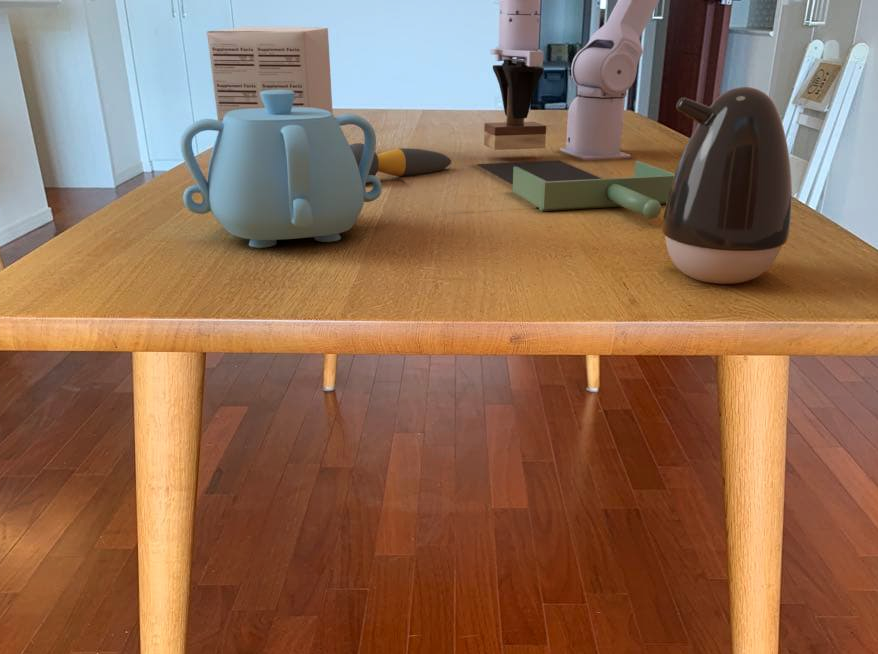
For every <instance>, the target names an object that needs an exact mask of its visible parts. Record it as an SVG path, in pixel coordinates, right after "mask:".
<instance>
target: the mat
mask: <svg viewBox="0 0 878 654" xmlns="http://www.w3.org/2000/svg"><path fill="white" fill-rule="evenodd" d="M476 166H478V167H480V168H481V169H484V170H485V171H487V172H489V173H491V174H492V175H494V176H496V177H497V178H499V179H501V180H503V181H505V182H506V183H509V184H510V185H512V186H513V167H516V166H517V167H519V168H521V169H523V170H525V171H527V172H529V173H531V174H533V175H535V176H537V177H539V178H541V179H543V180H545V181H547V182H549V181H569V180H588V179H602V178H601V177H599V176H597V175H594V174H592V173H589V172H587V171H585V170H583V169H580V168H577V167H575V166H573V165H571V164H568V163H566V162H564V161H561V160H538V161H516V162H495V163H493V162H492V163H476Z"/></svg>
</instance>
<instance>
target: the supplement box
mask: <svg viewBox="0 0 878 654" xmlns="http://www.w3.org/2000/svg"><path fill="white" fill-rule="evenodd" d="M206 36H207V44H208V53H209V61H210V69H211V76H212V87H213V93H214V101H215V103H214V104H215V110H216V120H218V121H220V122H222V121H223V119H224V116H225V115H226V113H227V112H229V111H233V110H239V109H253V108H265V106H264V104H263V101H262V99H261V96H260V92H262V91H266V90H291V91H293V92H295V97H294V101H293V105H292V107H308V108H318V109H323V110H327V111H330V112H331V113H332V114H333V115H334V113H333V111H334V110H333V97H332V95H333V94H332V78H331V61H330V60H331V59H330V44H329V28H328V27H321V26H320V27H317V26H313V27H312V26H240V27H233V28H224V29H217V30H216V29H215V30H207V31H206Z"/></svg>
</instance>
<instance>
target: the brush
mask: <svg viewBox="0 0 878 654" xmlns="http://www.w3.org/2000/svg"><path fill="white" fill-rule="evenodd" d="M483 125H484V127H483V129H484V132H483V145H484V146H486V147H488V148H489V149H492V150H494V151H503V150H504V151H507V150H530V149H531V150H533V149H546V143H547V142H546V141H547V139H546V138H547V125H546V124H543V123H539V122H536V121H525V118H516V119H514V118H512V114H511V106H510V93H509V87H508V93H507V116H506V121H505V122H504V121H503V122H484V124H483Z"/></svg>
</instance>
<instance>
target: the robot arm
mask: <svg viewBox="0 0 878 654" xmlns="http://www.w3.org/2000/svg"><path fill="white" fill-rule="evenodd" d="M541 3H542V2H541V0H499V8H498V9H499V11H498V14H499V17H498V46H496V47H495V48H490V55H495V61H496V62H503V63H501V64H493V65H492V71H493V72H494V75H495V77H496V80H497V82H498V85H499V90H500V95H501V100H502V106H503V111H504V115H505V116H506V117H507V93H508V87H509V93H510V106H511V114H512V118H514V119H516V118H524V119H527V118H528V116H529V113H530V110H531V109H530V108H531V104H532V101H533V96H534V93H535V91H536V88H537V86H538V83H539V81H540V79H541V77H542V76H543V74H544V71H545V67H543V66H544V50H540V49H539V42H540V23H541V22H540V21H541ZM659 3H660V0H617V1H616V4H615V6H614V7H613V9H612V11H611V13H610V15H609V17H608V19H607V21H606V22H605V23H604V24H603V25H602V26H601V27H600V28H598V29H597V30H596V31H594V33H592V35H591V37H590V38H589V40H588V42H587V44H586V45H584V47H582V48H581V49H579V50H578V51H577V53H576V54H575V55H574V57H573V59H572V62H571V65H570V66H571V68H570V71H571V72H570V74H571V78H572V80H573V82H574V84H575V85H576V86H577V91H576V94H577V96H576V97H575V98H574V99H573V100H572V101H571V103H570V105H569V107H568V111H567V123H566V125H567V126H566V139H565V140H566V141H565V147H560V152H563V153H565V154H568V155H571V156H573V157H576V158H578V159H580V160H584V161H585V160H586V161H587V160H609V159H611V160H613V159H630V158H631V154H629V153H626V152H623V151H621V149H622V148H621V147H622V138H623V137H622V136H623V125H624V114H625V105H626V104H625V103H626V98H627V93H628V90H629V89H630V88H631V87H632V86H633V84H634V82H635V80H636V77H637V73H638V64H639V62H640V59H641V57H642V55H643V53H644V50H643V46H642V43H641V40H640V38H641V36H642V34H643V32H644V30H645V28H646V26H647V25H648V23H649V21H650V20H651V17H652V15H653V13H654V12H655V9H656V8H657V6H658V4H659Z"/></svg>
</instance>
